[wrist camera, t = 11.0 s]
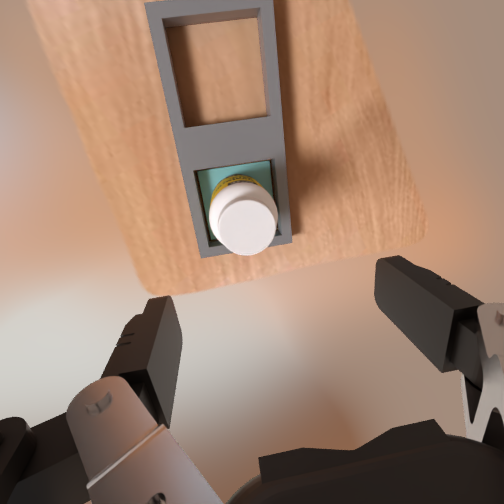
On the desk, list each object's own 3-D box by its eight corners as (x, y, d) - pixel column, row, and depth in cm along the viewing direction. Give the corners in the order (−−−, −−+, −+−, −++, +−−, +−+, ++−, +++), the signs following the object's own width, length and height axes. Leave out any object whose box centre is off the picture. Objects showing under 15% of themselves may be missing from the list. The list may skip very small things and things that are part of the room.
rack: (149, 13, 22) (144, 2, 20) (267, 0, 22) (272, -11, 21) (201, 251, 30) (200, 258, 28) (288, 237, 30) (292, 242, 28)
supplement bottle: (252, 163, 26) (270, 175, 17) (272, 213, 29) (298, 247, 20) (201, 186, 27) (193, 210, 18) (224, 235, 29) (228, 277, 20)
